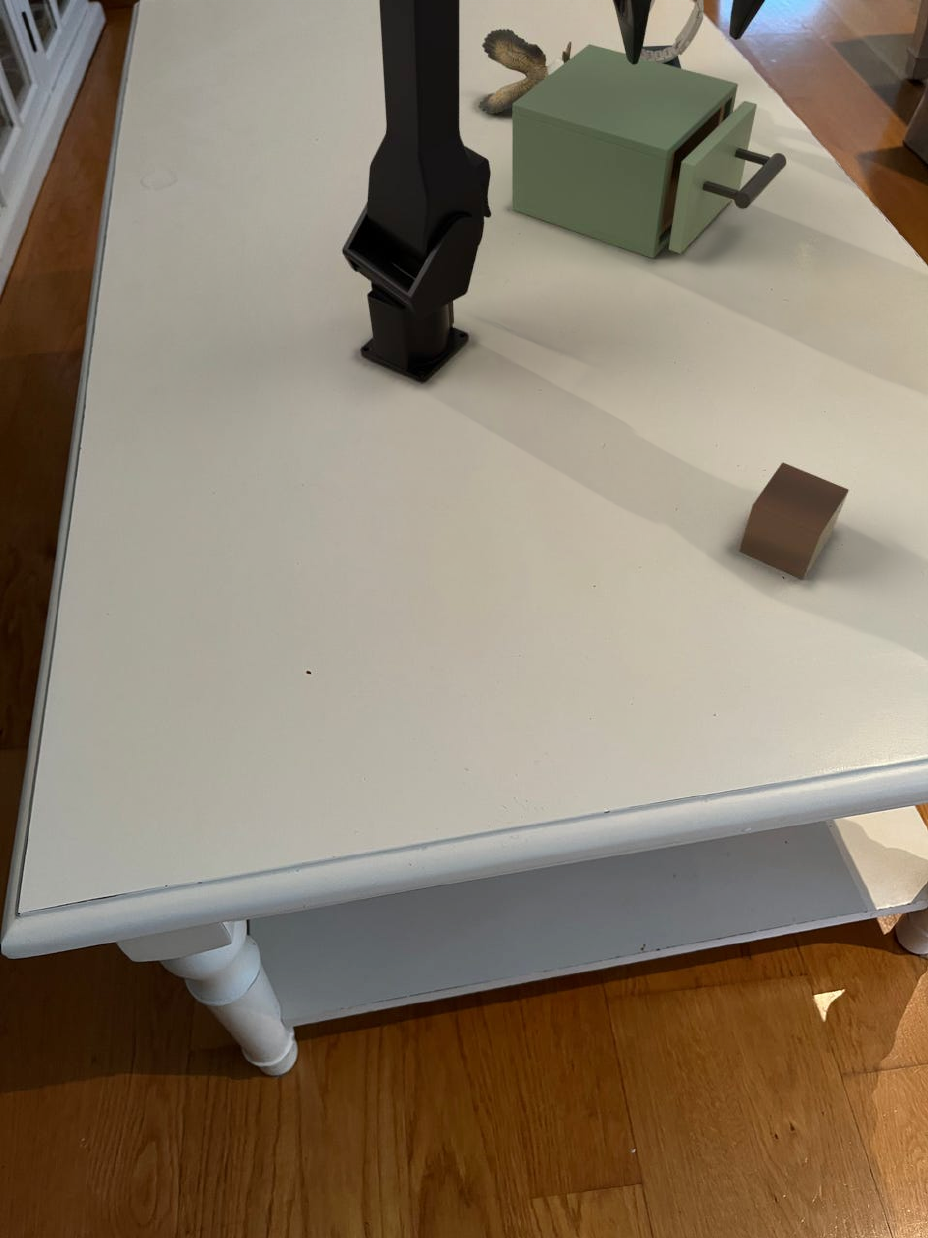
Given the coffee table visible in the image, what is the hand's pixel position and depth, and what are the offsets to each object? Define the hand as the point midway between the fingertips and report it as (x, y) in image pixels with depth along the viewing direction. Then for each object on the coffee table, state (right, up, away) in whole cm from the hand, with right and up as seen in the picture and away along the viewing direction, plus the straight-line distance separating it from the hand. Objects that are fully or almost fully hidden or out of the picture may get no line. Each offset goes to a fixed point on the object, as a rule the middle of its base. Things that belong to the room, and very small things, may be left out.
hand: (683, 49), depth 77 cm
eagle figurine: (-11, +8, +24) cm, 28 cm away
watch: (+2, +10, +24) cm, 26 cm away
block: (+4, -40, -12) cm, 42 cm away
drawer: (0, -8, +10) cm, 13 cm away
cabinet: (-3, -7, +12) cm, 15 cm away
